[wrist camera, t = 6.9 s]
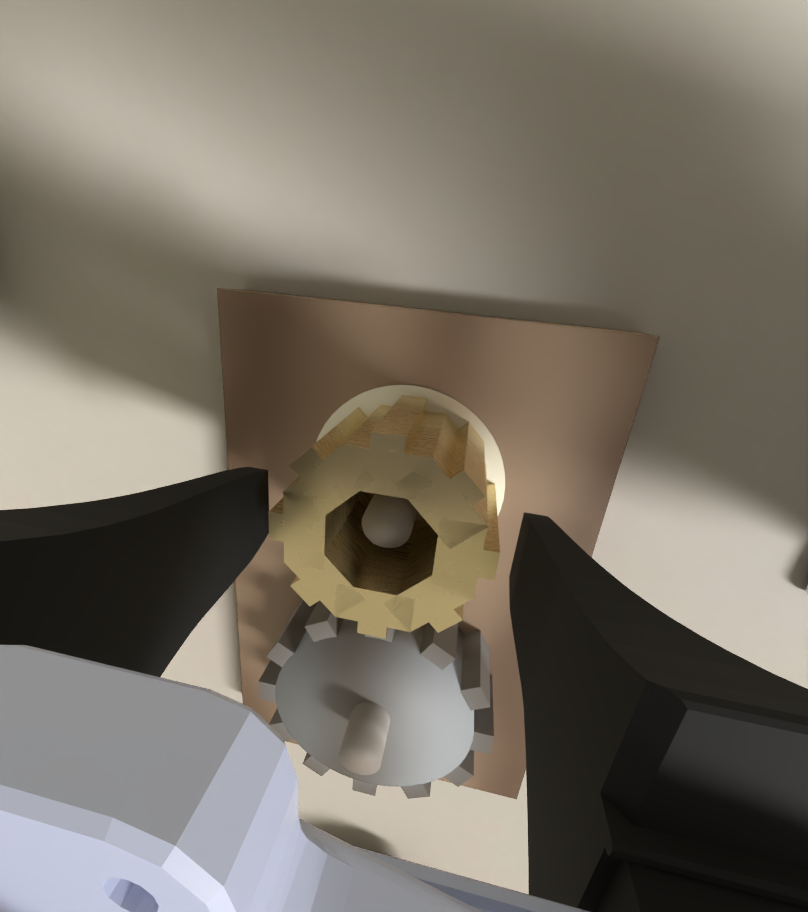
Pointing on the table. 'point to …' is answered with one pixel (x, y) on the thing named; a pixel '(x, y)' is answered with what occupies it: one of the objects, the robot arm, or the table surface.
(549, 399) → the gear board
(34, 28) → the table surface
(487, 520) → the wooden gear
